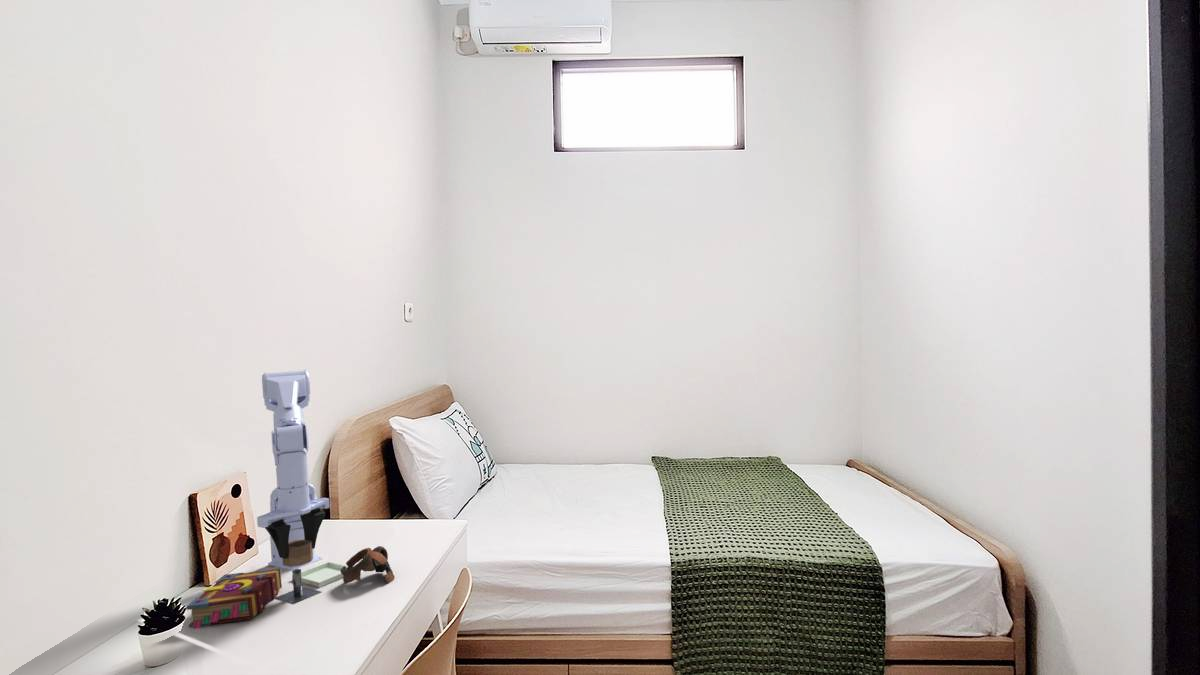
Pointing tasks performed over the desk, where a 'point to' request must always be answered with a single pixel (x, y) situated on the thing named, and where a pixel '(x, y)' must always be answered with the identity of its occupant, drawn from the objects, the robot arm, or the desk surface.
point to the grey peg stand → (297, 590)
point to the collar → (299, 553)
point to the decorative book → (235, 598)
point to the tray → (322, 574)
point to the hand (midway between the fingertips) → (297, 552)
